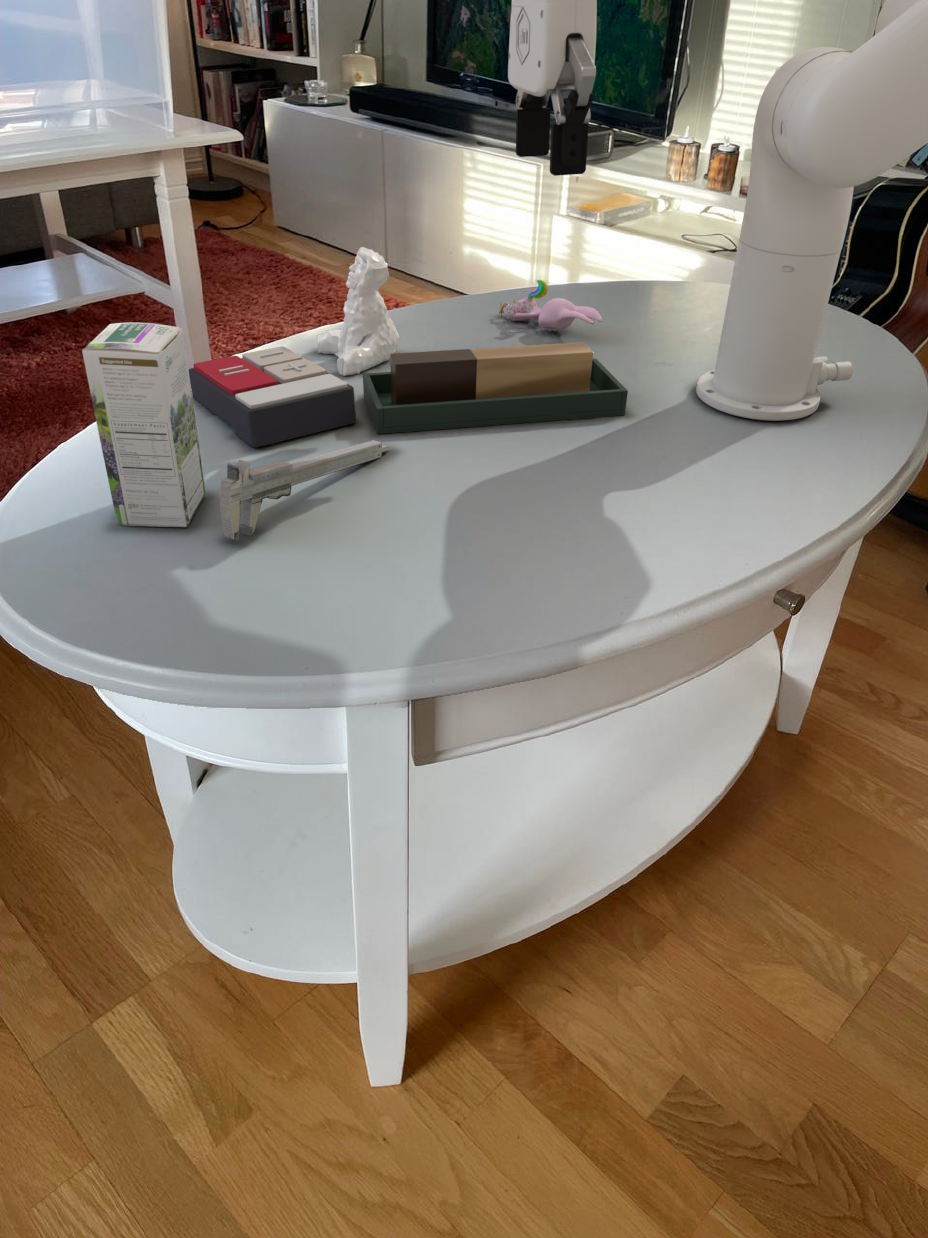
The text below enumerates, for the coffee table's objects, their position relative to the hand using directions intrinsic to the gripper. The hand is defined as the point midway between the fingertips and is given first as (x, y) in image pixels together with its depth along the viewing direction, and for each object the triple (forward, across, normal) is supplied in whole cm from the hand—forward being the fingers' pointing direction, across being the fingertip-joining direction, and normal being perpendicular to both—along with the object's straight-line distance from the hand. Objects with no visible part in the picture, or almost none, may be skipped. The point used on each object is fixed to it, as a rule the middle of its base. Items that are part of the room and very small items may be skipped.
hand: (549, 164), depth 86 cm
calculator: (+21, -1, -28) cm, 35 cm away
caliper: (+22, +17, -26) cm, 38 cm away
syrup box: (+21, +18, -38) cm, 47 cm away
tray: (+22, +3, -6) cm, 23 cm away
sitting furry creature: (+21, -14, -17) cm, 30 cm away
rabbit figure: (+22, -19, +8) cm, 30 cm away
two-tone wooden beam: (+21, +3, -6) cm, 22 cm away
